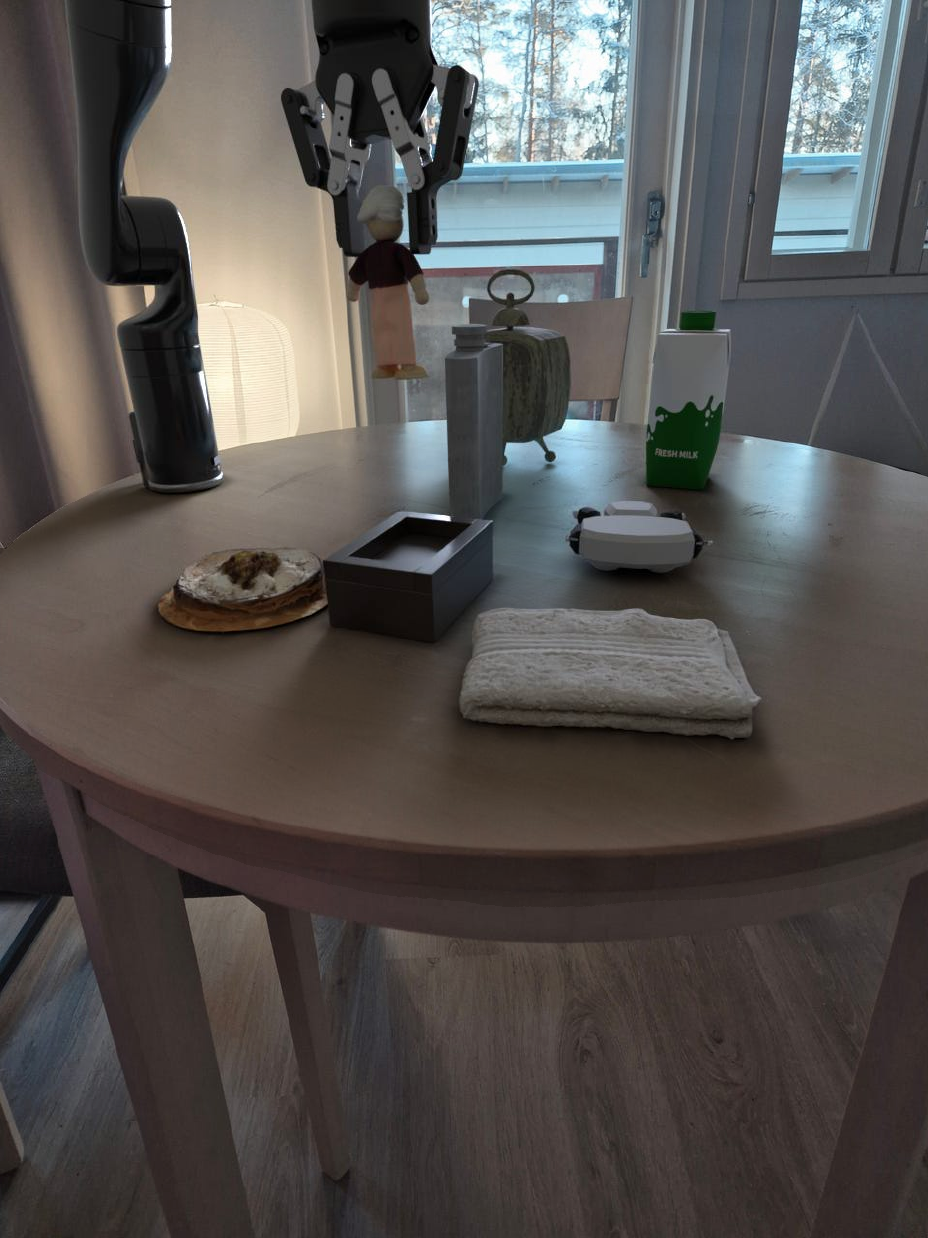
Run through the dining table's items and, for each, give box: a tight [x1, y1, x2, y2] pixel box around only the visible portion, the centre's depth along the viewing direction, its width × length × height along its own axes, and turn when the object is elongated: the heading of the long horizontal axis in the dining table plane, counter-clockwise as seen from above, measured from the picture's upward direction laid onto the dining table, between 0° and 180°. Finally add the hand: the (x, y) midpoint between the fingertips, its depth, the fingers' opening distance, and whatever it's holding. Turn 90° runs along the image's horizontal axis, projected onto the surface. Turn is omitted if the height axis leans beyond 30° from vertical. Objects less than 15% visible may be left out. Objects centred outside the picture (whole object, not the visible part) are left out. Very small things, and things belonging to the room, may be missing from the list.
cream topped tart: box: [157, 546, 328, 632], centre depth 61 cm, size 15×15×4 cm
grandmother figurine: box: [345, 184, 431, 381], centre depth 52 cm, size 8×4×13 cm, turn 65°
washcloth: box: [458, 607, 763, 740], centre depth 47 cm, size 12×18×3 cm, turn 84°
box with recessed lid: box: [322, 510, 494, 644], centre depth 59 cm, size 9×13×6 cm
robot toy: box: [565, 500, 714, 574], centre depth 67 cm, size 12×4×15 cm
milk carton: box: [645, 310, 732, 491], centre depth 88 cm, size 9×9×20 cm
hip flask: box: [444, 323, 504, 520], centre depth 77 cm, size 16×4×20 cm, turn 167°
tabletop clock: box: [483, 268, 572, 467], centre depth 97 cm, size 14×9×25 cm, turn 58°
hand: (387, 254), depth 51 cm, fingers closed on grandmother figurine, 4 cm apart
